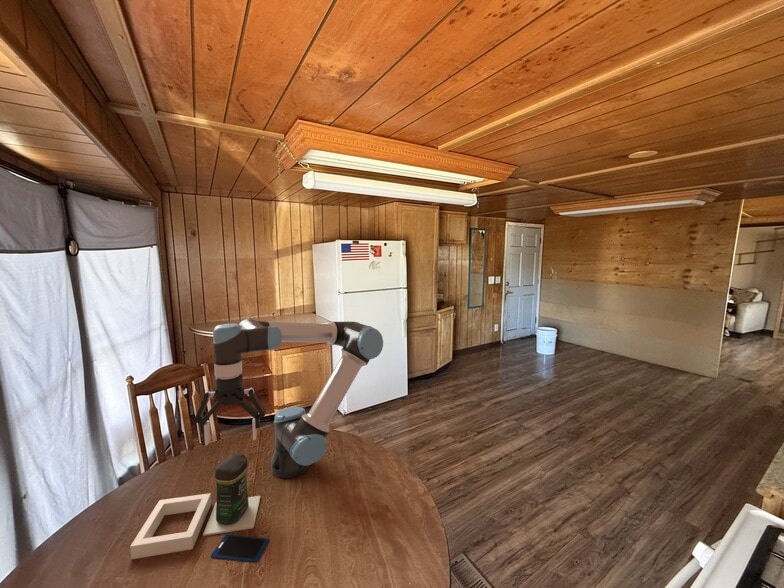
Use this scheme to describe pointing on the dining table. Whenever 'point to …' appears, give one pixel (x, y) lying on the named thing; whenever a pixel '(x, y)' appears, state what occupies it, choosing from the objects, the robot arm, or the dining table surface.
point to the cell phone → (240, 548)
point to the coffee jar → (231, 489)
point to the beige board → (242, 524)
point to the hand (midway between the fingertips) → (231, 440)
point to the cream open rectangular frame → (172, 542)
